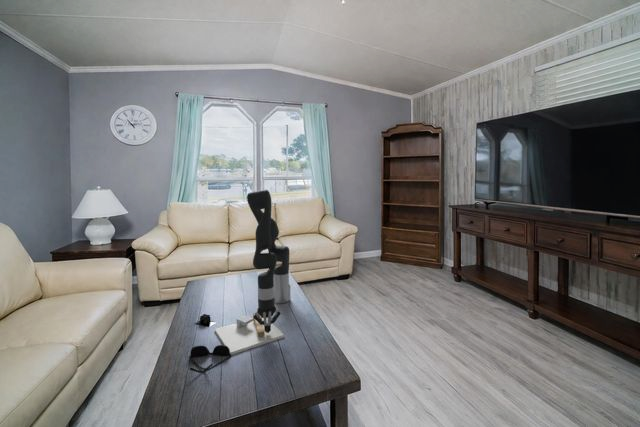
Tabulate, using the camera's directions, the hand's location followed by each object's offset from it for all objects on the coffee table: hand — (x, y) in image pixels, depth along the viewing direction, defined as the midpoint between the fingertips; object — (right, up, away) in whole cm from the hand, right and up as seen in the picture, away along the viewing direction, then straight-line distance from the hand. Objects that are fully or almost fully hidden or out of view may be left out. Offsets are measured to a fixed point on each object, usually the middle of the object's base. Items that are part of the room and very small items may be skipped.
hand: (267, 331), depth 138 cm
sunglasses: (-21, -5, -21) cm, 30 cm away
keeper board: (-9, -2, +2) cm, 10 cm away
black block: (-34, -2, +13) cm, 37 cm away
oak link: (-5, 0, +6) cm, 8 cm away
